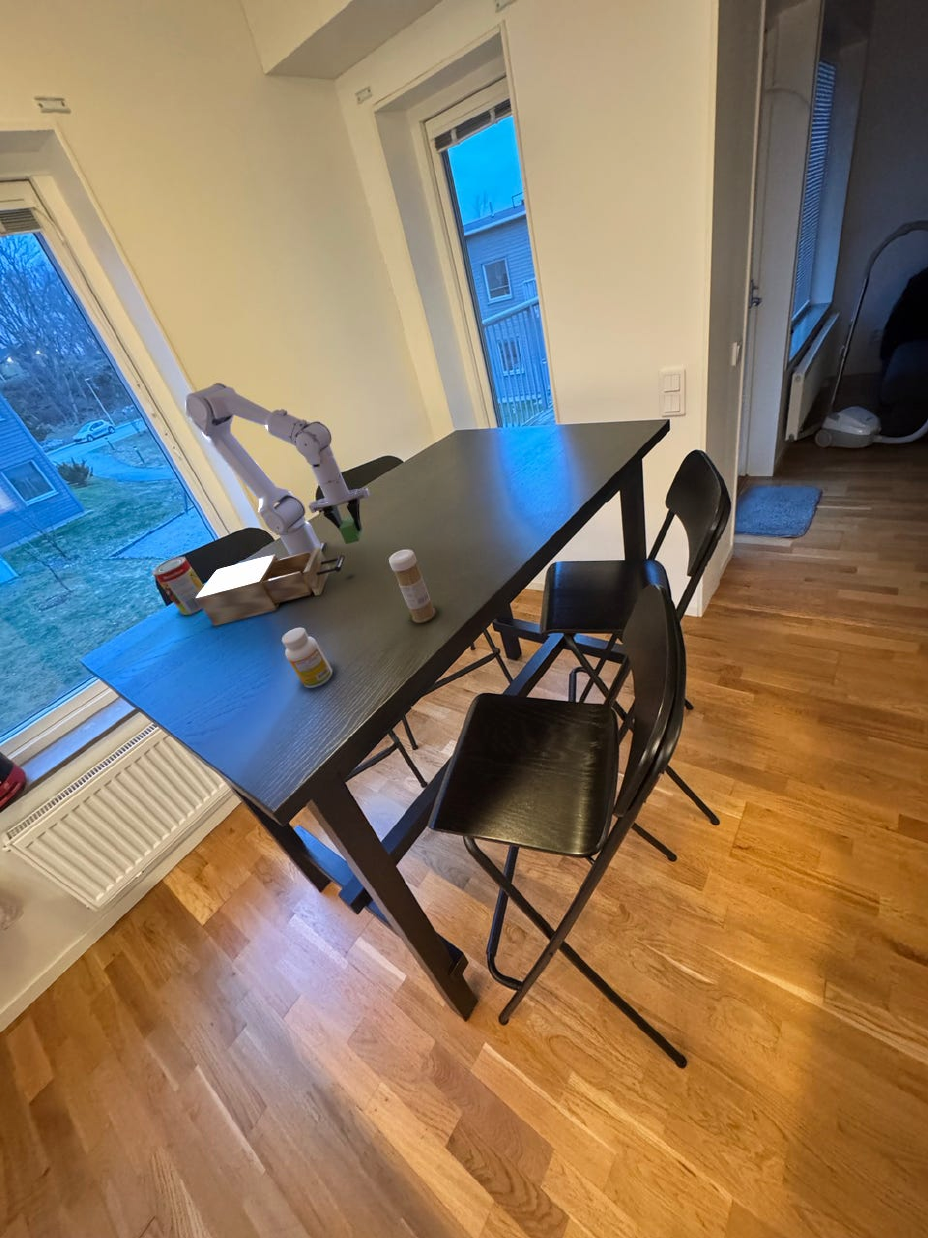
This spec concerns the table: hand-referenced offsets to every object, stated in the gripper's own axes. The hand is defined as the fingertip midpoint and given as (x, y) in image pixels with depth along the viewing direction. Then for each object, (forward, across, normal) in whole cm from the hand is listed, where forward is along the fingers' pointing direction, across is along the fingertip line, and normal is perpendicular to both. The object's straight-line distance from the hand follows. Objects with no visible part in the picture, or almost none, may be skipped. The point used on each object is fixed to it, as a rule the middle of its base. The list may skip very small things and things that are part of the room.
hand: (352, 531), depth 119 cm
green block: (+1, 0, 0) cm, 1 cm away
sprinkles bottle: (+6, -18, +36) cm, 41 cm away
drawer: (+5, +11, +13) cm, 18 cm away
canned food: (+6, +43, +6) cm, 44 cm away
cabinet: (+6, +25, +13) cm, 29 cm away
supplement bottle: (+6, +1, +47) cm, 47 cm away
